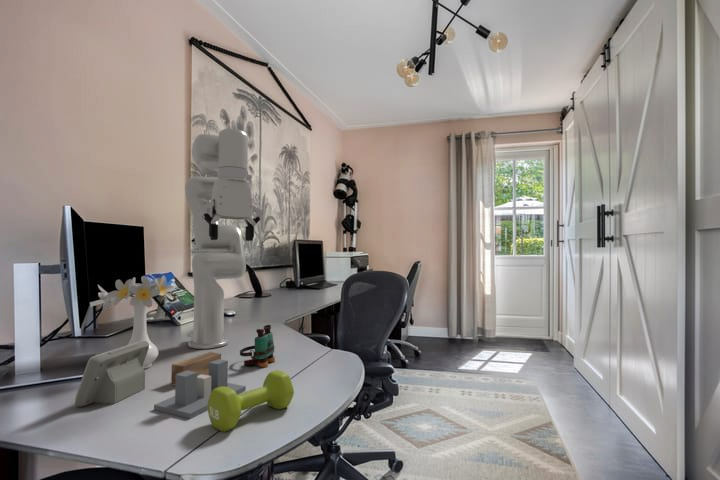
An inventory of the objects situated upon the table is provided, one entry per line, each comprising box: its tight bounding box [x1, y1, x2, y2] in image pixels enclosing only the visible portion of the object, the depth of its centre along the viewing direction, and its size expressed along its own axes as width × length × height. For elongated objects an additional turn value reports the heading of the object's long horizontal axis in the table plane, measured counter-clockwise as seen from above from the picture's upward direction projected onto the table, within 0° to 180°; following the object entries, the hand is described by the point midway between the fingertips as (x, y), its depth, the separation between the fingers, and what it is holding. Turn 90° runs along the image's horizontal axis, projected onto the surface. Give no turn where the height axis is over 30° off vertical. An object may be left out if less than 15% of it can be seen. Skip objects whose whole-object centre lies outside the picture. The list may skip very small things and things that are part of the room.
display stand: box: [153, 358, 247, 420], centre depth 83 cm, size 10×16×7 cm, turn 157°
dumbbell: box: [207, 369, 295, 433], centre depth 76 cm, size 16×8×7 cm, turn 139°
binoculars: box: [239, 324, 276, 368], centre depth 110 cm, size 9×11×10 cm
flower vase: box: [97, 275, 176, 370], centre depth 105 cm, size 13×18×25 cm
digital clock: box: [74, 341, 149, 408], centre depth 85 cm, size 16×9×11 cm, turn 158°
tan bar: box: [170, 351, 222, 385], centre depth 97 cm, size 4×12×5 cm, turn 156°
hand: (232, 240), depth 102 cm, fingers open, 9 cm apart
